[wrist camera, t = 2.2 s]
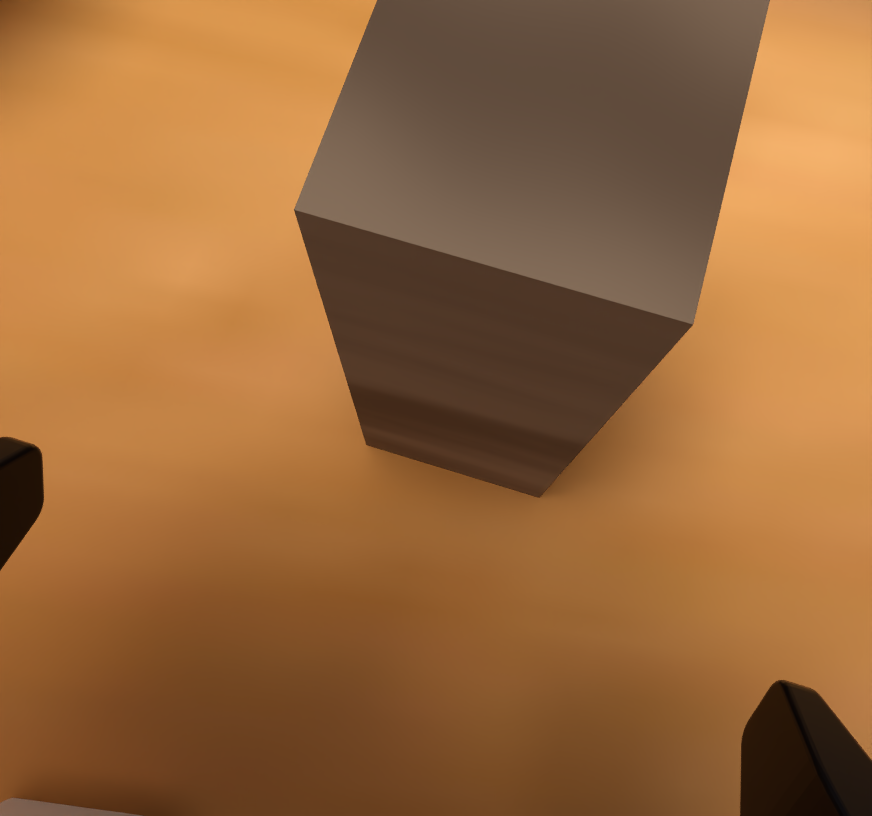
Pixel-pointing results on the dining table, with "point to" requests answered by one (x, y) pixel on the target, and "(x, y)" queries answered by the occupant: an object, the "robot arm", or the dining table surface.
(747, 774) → the robot arm
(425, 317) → the walnut block
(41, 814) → the ceramic cube
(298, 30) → the dining table surface
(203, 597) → the dining table surface
